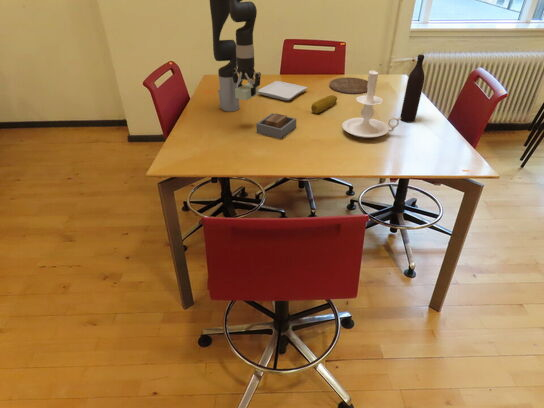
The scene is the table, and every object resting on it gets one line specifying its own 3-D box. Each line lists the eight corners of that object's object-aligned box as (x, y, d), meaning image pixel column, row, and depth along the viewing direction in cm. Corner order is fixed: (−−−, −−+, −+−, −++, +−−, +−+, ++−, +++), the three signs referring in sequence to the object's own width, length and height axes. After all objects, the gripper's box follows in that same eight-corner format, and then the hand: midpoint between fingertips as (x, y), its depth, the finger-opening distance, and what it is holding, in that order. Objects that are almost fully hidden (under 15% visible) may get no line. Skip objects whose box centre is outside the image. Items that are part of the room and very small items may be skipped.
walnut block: (265, 130, 173) (265, 120, 170) (275, 123, 179) (275, 113, 176) (277, 133, 170) (277, 122, 167) (286, 125, 176) (286, 115, 173)
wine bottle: (416, 118, 185) (430, 54, 168) (413, 123, 180) (428, 58, 162) (401, 115, 188) (414, 52, 170) (398, 121, 182) (411, 56, 165)
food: (318, 116, 188) (319, 104, 185) (309, 113, 191) (309, 102, 188) (339, 103, 202) (340, 92, 199) (329, 101, 205) (330, 90, 201)
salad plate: (308, 92, 216) (308, 86, 214) (289, 104, 202) (289, 97, 200) (276, 85, 226) (276, 80, 224) (256, 96, 211) (256, 90, 209)
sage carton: (235, 97, 169) (234, 88, 166) (247, 91, 174) (247, 83, 172) (246, 100, 166) (245, 91, 163) (258, 94, 172) (258, 85, 169)
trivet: (376, 94, 213) (376, 91, 211) (331, 95, 213) (332, 91, 212) (367, 80, 233) (368, 77, 232) (327, 80, 233) (327, 77, 232)
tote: (256, 132, 173) (256, 123, 170) (272, 121, 183) (272, 113, 180) (281, 139, 167) (281, 129, 165) (296, 127, 177) (296, 118, 175)
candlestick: (398, 146, 162) (412, 80, 145) (340, 141, 166) (347, 76, 149) (396, 126, 178) (408, 65, 161) (342, 122, 182) (349, 62, 166)
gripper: (226, 55, 160) (228, 93, 170) (254, 59, 154) (256, 99, 164) (236, 50, 165) (238, 88, 175) (264, 55, 159) (265, 94, 169)
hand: (246, 94), depth 170 cm, fingers closed on sage carton, 6 cm apart
